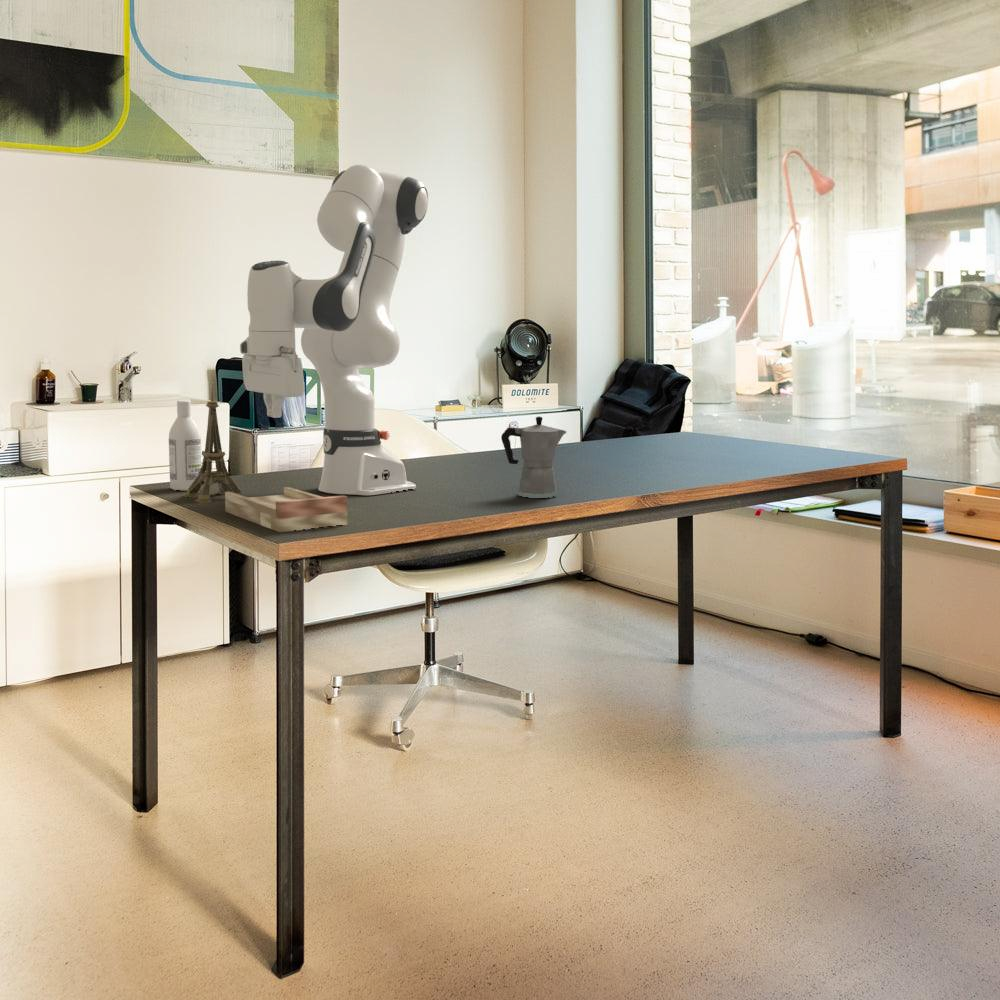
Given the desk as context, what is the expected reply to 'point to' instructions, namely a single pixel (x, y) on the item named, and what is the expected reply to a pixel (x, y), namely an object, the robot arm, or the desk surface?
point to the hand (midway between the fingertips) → (274, 417)
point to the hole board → (289, 510)
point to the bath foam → (184, 449)
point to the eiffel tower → (209, 455)
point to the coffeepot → (535, 456)
